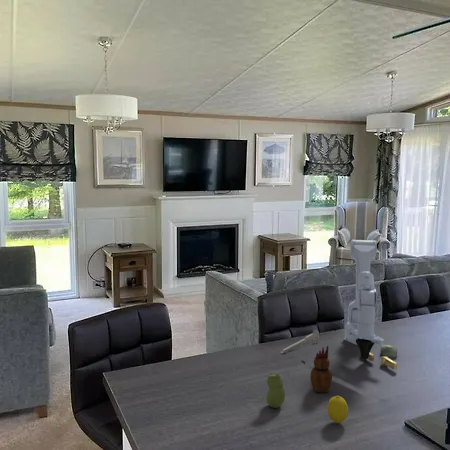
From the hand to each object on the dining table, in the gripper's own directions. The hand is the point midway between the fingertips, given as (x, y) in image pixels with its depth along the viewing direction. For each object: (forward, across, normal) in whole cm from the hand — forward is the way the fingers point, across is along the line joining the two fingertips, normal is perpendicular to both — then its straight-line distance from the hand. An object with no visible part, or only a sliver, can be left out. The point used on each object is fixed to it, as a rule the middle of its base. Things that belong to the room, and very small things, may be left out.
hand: (364, 358), depth 162 cm
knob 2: (+2, +8, +3) cm, 9 cm away
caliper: (+3, -26, -6) cm, 27 cm away
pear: (+3, +2, -46) cm, 46 cm away
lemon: (+3, +20, -38) cm, 43 cm away
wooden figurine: (+3, +4, -27) cm, 27 cm away
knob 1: (+2, -1, +3) cm, 4 cm away
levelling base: (+3, 0, +9) cm, 10 cm away
